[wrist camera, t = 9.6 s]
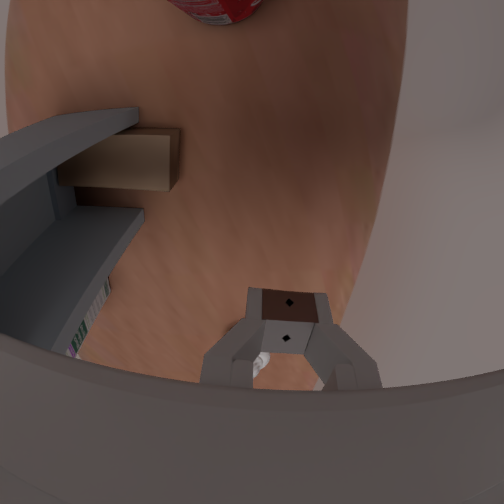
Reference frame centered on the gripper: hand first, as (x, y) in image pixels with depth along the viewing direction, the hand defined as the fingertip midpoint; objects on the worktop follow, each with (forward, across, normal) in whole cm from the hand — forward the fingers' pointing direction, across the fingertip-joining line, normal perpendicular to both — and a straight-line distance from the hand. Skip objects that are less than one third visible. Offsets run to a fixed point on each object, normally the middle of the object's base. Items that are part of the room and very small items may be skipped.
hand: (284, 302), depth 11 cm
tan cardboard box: (+18, +15, 0) cm, 23 cm away
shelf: (+18, +18, +2) cm, 25 cm away
